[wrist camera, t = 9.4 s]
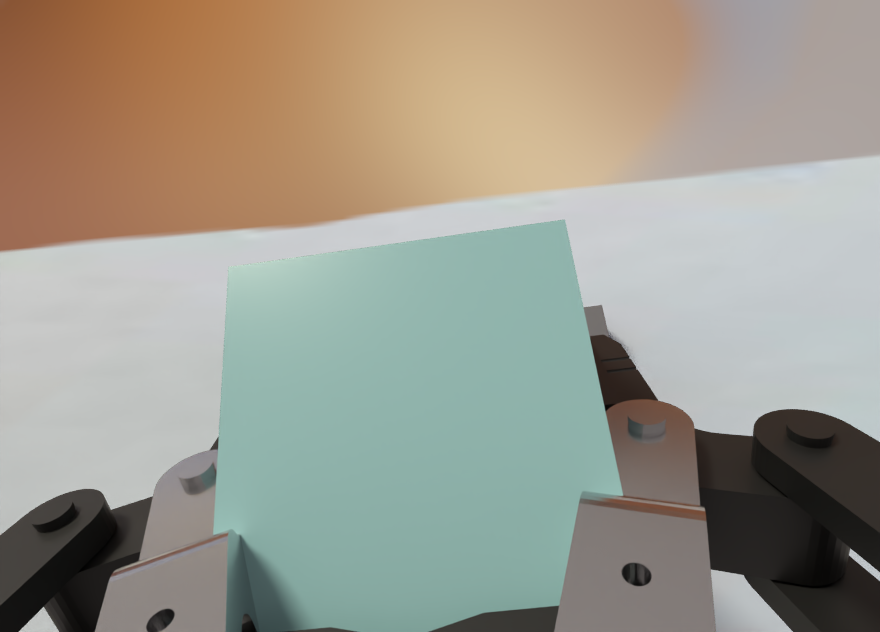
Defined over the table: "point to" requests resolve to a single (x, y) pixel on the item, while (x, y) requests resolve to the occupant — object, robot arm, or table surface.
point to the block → (409, 429)
